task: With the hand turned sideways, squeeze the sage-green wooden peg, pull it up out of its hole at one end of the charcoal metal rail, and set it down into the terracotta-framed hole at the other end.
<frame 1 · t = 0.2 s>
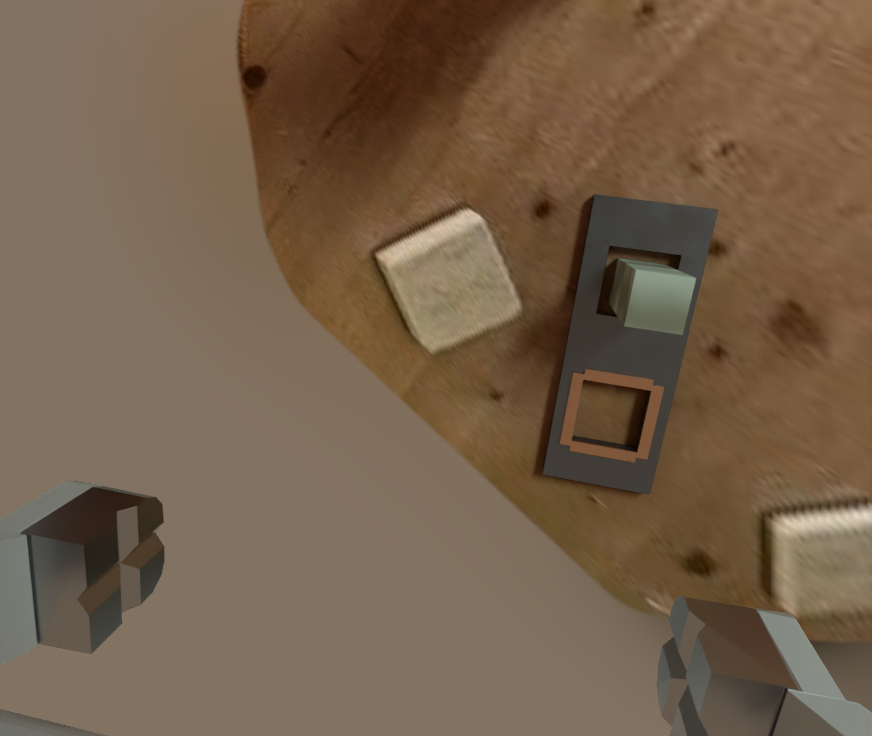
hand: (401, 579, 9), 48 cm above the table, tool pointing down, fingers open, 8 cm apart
peg: (635, 283, 53), resting in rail
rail: (622, 349, 55), on the table
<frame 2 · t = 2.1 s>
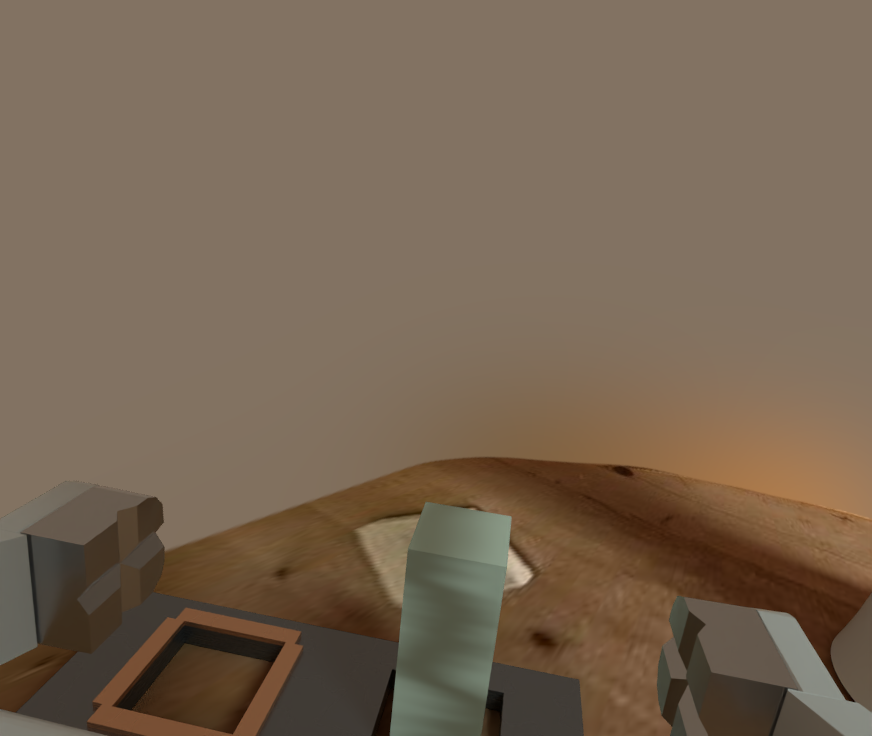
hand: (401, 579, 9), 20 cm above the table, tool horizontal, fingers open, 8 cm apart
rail: (317, 720, 30), on the table
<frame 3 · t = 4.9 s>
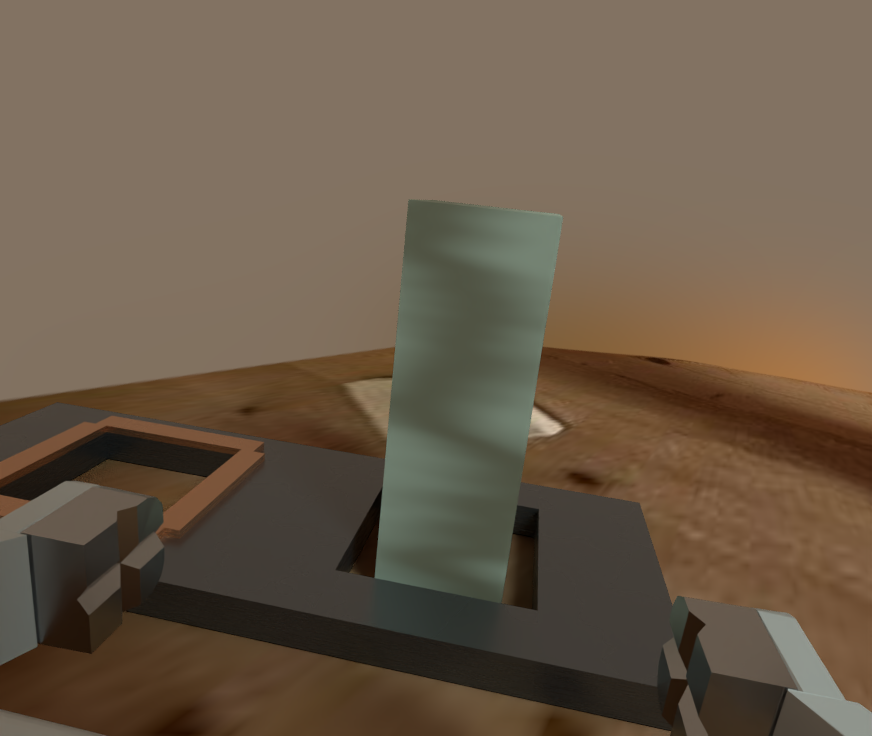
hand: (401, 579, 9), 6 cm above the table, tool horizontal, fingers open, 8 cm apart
peg: (445, 567, 21), resting in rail
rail: (279, 534, 22), on the table
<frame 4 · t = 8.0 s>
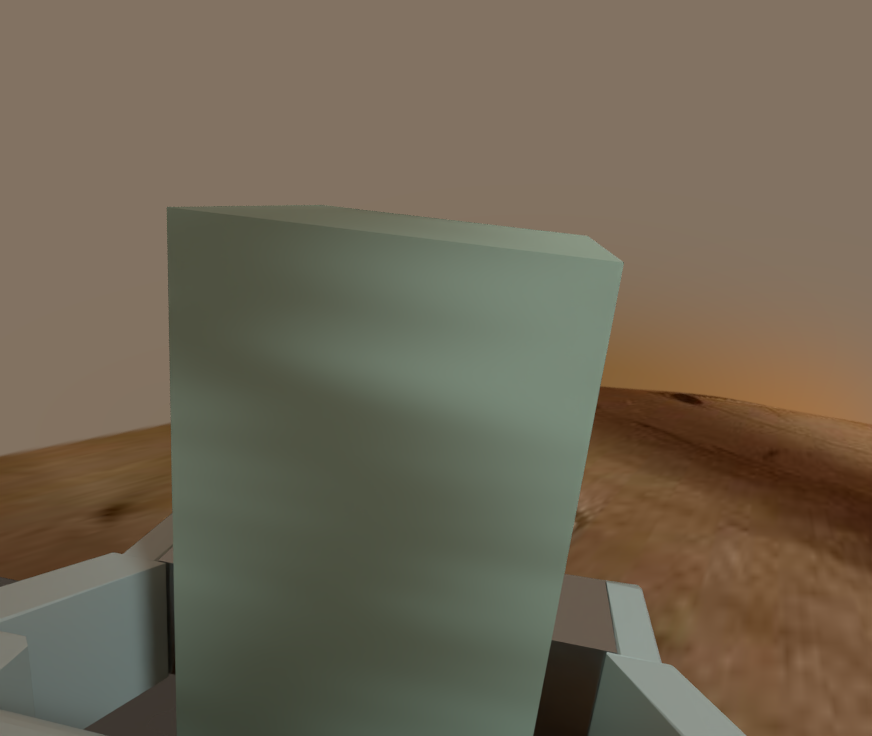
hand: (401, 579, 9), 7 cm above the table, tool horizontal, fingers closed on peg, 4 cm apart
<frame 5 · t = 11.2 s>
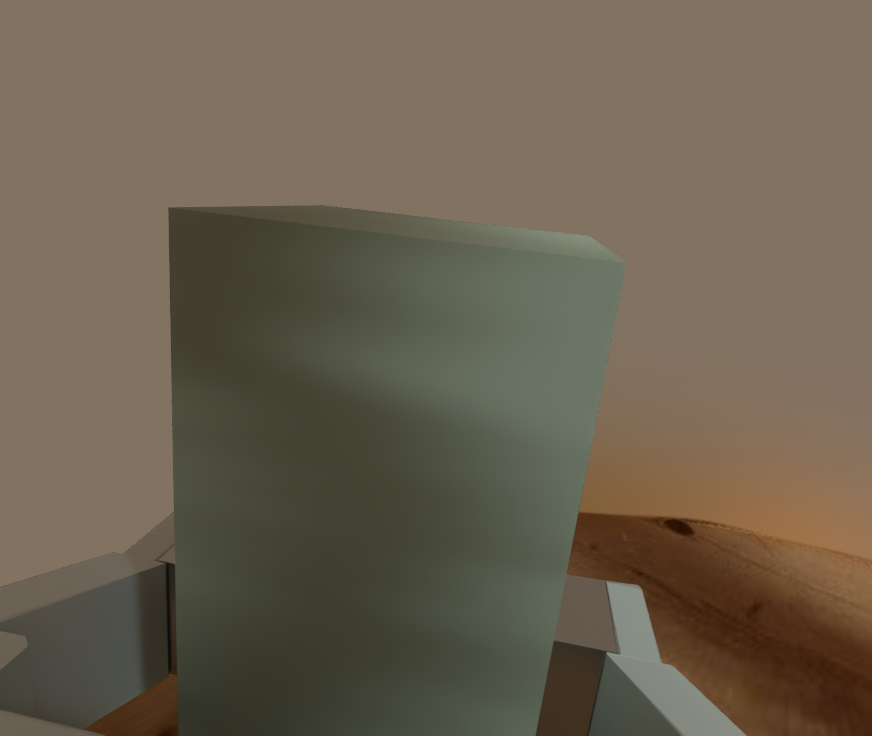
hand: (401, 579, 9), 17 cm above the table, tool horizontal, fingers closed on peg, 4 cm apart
when the fingers open (8 cm above the table, at t = 14.8 s): peg stays where it is, resting in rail.
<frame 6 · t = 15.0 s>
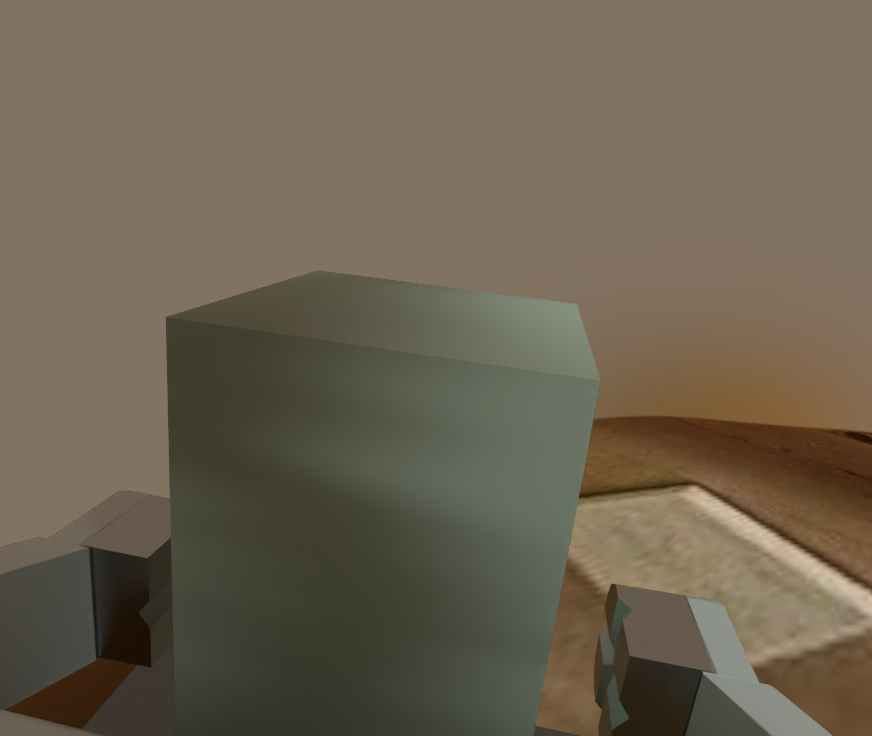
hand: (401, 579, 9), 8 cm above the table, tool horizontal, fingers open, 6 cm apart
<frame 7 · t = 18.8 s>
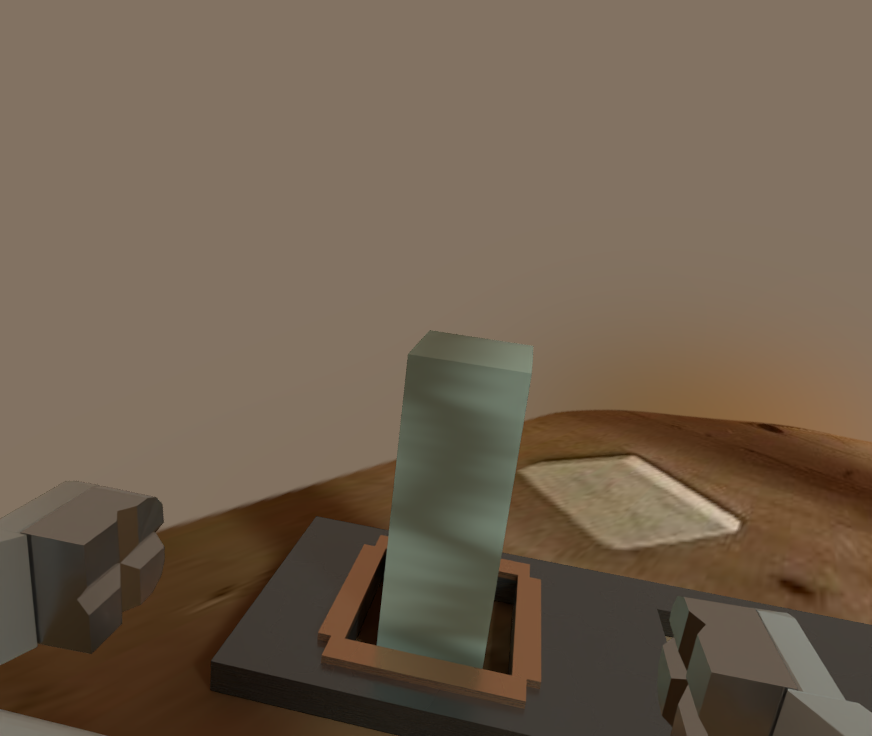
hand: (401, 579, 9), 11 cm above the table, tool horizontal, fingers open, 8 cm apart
peg: (435, 635, 24), resting in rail
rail: (585, 667, 24), on the table
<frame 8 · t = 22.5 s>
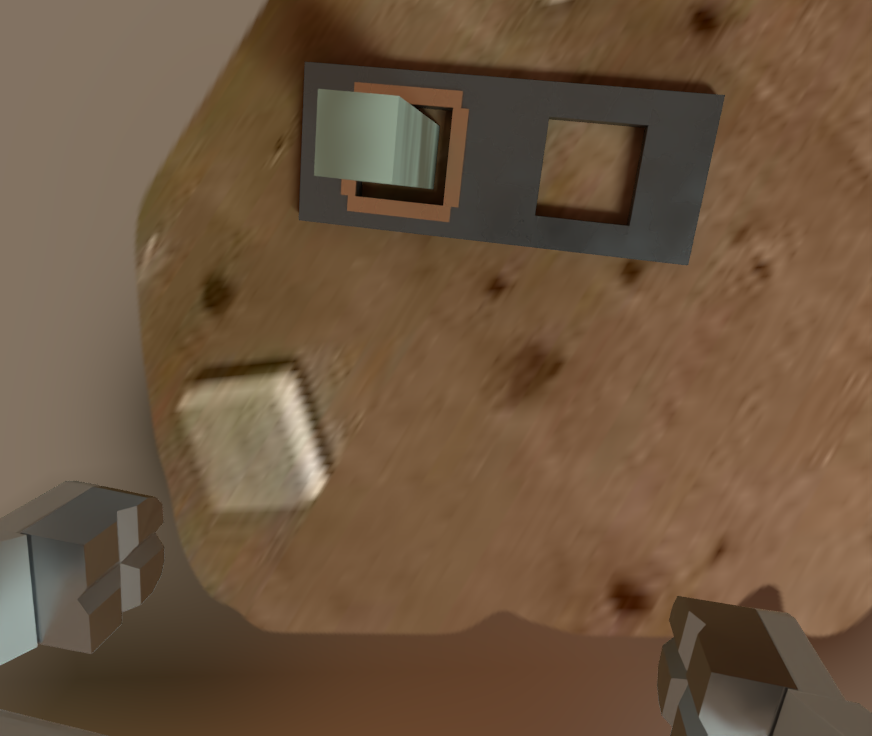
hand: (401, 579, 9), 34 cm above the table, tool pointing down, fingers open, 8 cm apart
peg: (407, 155, 41), resting in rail
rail: (496, 163, 40), on the table
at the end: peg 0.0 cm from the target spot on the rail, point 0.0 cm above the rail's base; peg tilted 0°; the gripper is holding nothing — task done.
